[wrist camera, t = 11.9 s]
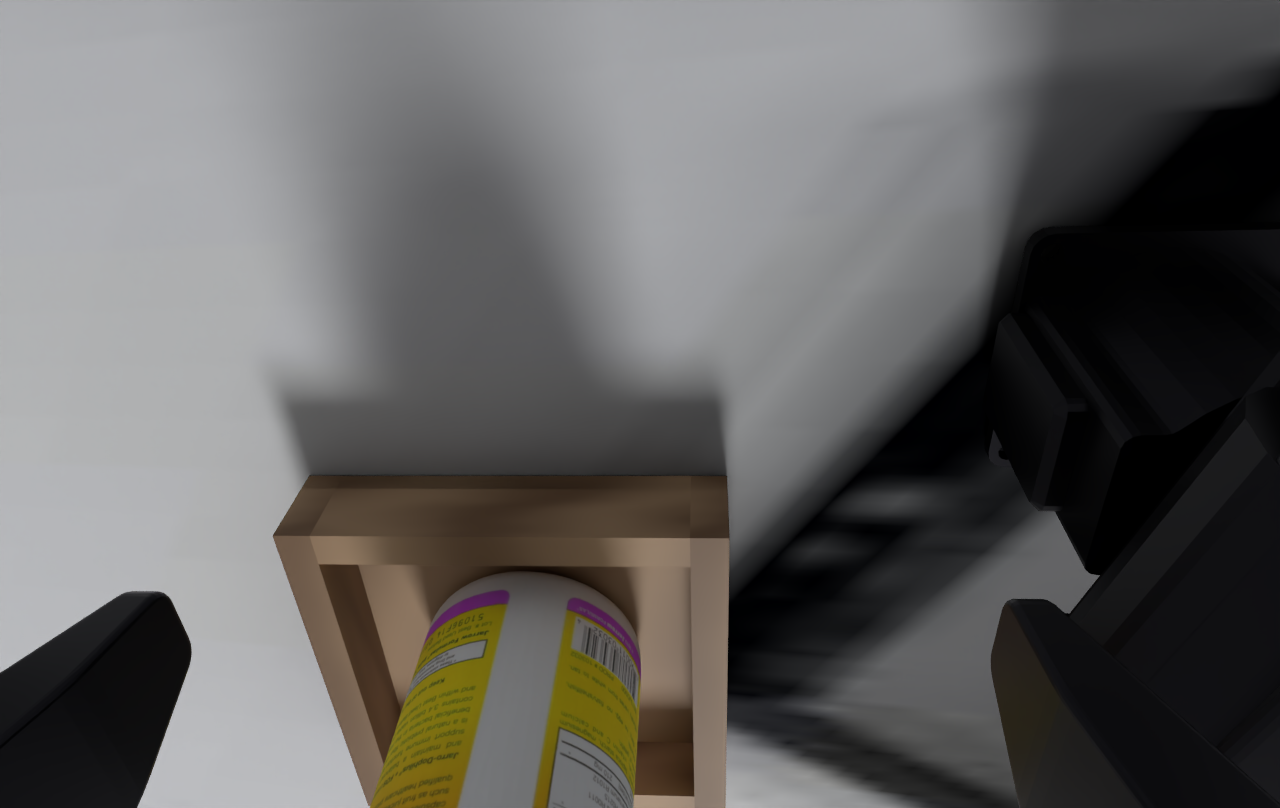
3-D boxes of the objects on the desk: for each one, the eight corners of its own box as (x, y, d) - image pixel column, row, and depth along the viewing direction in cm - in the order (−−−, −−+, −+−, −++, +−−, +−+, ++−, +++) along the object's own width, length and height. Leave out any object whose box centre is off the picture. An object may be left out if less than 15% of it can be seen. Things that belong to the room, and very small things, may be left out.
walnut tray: (726, 475, 25) (729, 538, 22) (723, 746, 31) (725, 815, 29) (309, 475, 25) (272, 535, 23) (390, 739, 32) (368, 805, 30)
